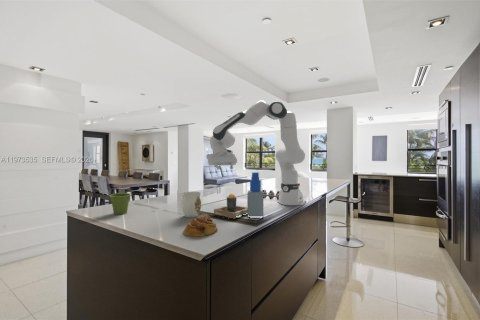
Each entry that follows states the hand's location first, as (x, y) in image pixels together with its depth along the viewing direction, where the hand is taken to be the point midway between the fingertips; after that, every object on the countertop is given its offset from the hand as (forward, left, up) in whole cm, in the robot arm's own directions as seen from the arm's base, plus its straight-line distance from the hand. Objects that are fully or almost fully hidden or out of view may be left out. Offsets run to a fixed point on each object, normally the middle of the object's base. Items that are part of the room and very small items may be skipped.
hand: (225, 168), depth 160 cm
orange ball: (+13, +16, -15) cm, 26 cm away
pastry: (+45, +23, -26) cm, 56 cm away
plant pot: (+50, -41, -26) cm, 69 cm away
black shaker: (+13, +16, -24) cm, 32 cm away
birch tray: (+13, +16, -25) cm, 32 cm away
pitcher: (+28, -2, -26) cm, 38 cm away
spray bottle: (+9, +29, -26) cm, 40 cm away
